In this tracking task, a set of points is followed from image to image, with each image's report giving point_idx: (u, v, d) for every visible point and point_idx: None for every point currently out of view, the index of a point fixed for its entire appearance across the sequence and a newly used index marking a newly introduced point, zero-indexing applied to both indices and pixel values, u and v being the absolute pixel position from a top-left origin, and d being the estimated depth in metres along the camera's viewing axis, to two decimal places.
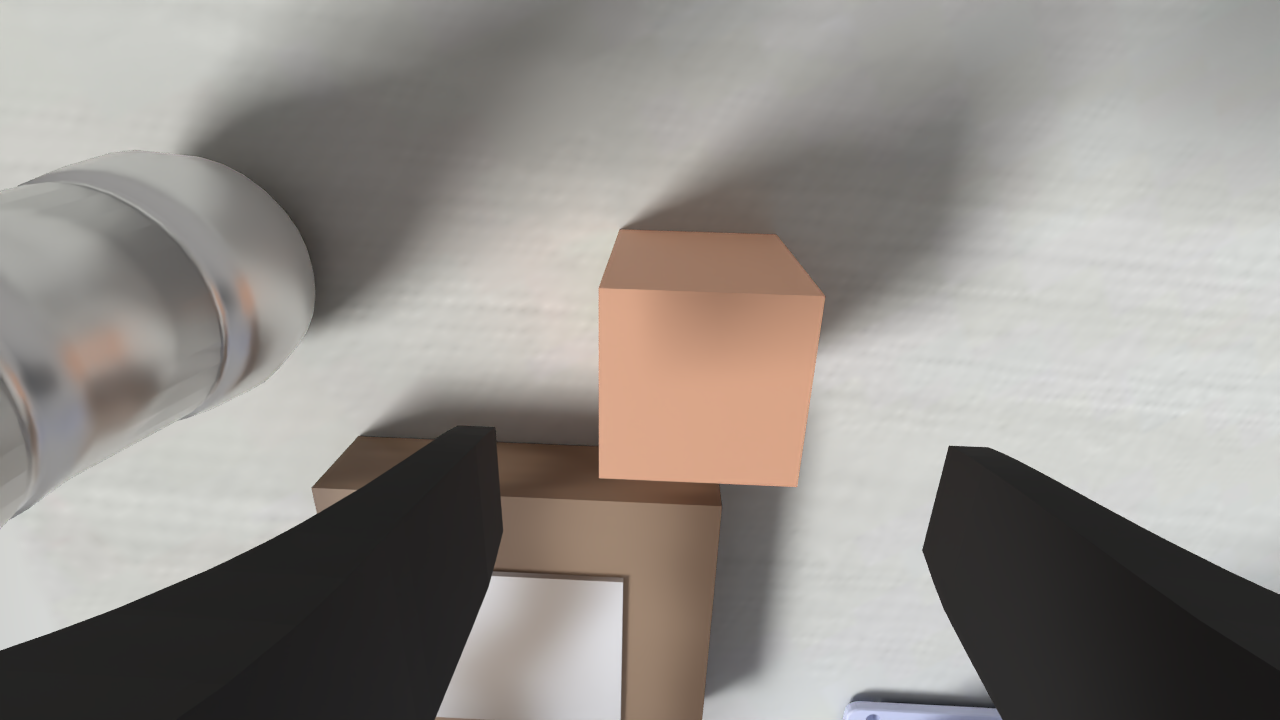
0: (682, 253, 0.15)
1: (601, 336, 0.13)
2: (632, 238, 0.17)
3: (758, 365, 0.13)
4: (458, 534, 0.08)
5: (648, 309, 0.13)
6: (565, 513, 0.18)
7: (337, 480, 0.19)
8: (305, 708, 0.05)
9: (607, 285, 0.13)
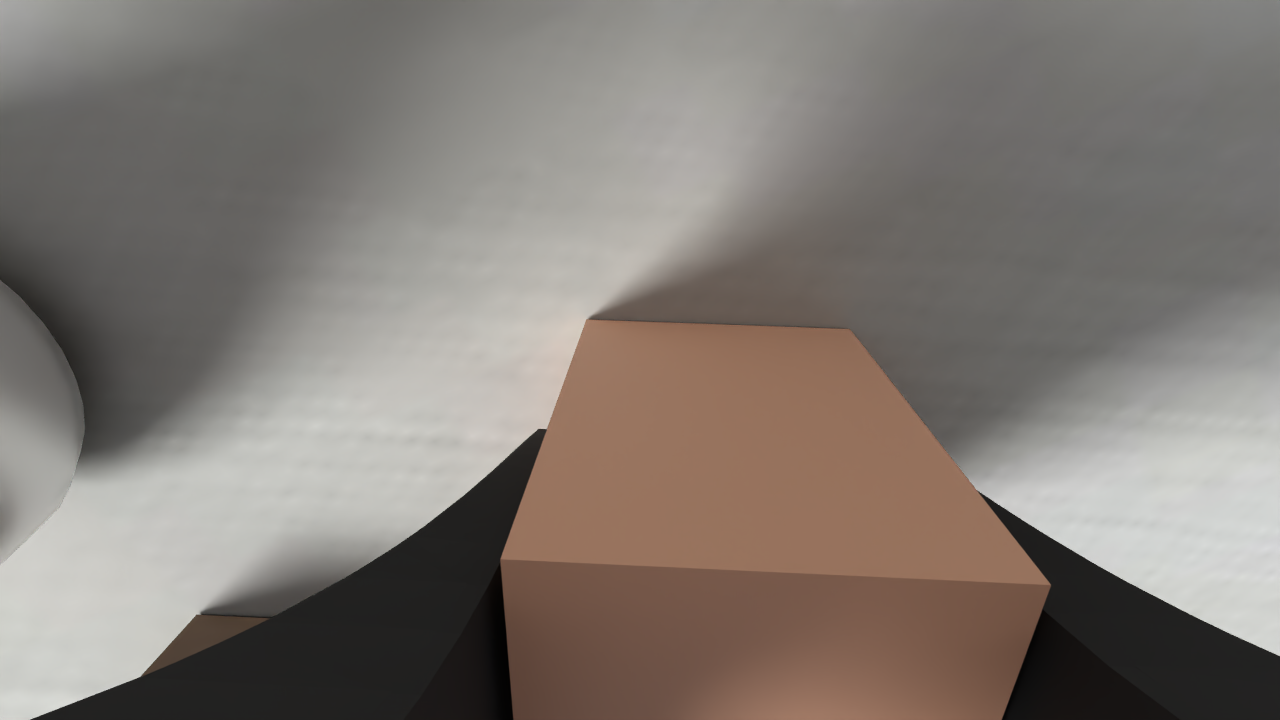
0: (694, 394, 0.08)
1: (514, 649, 0.06)
2: (604, 347, 0.09)
3: (872, 710, 0.06)
4: None
5: (621, 603, 0.05)
6: None
7: None
8: (463, 716, 0.05)
9: (524, 542, 0.05)
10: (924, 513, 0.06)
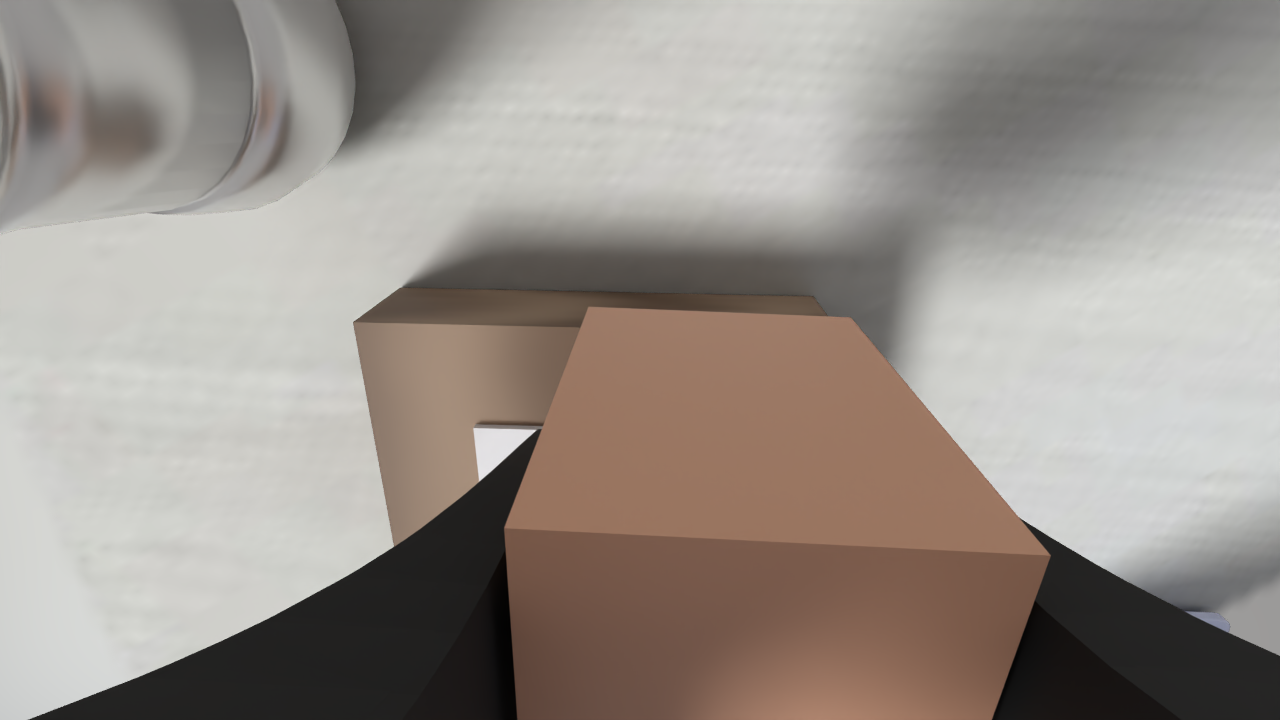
0: (696, 377, 0.08)
1: (517, 620, 0.06)
2: (606, 332, 0.10)
3: (873, 684, 0.06)
4: None
5: (623, 573, 0.05)
6: None
7: (382, 317, 0.16)
8: (464, 716, 0.05)
9: (528, 513, 0.05)
10: (925, 488, 0.06)
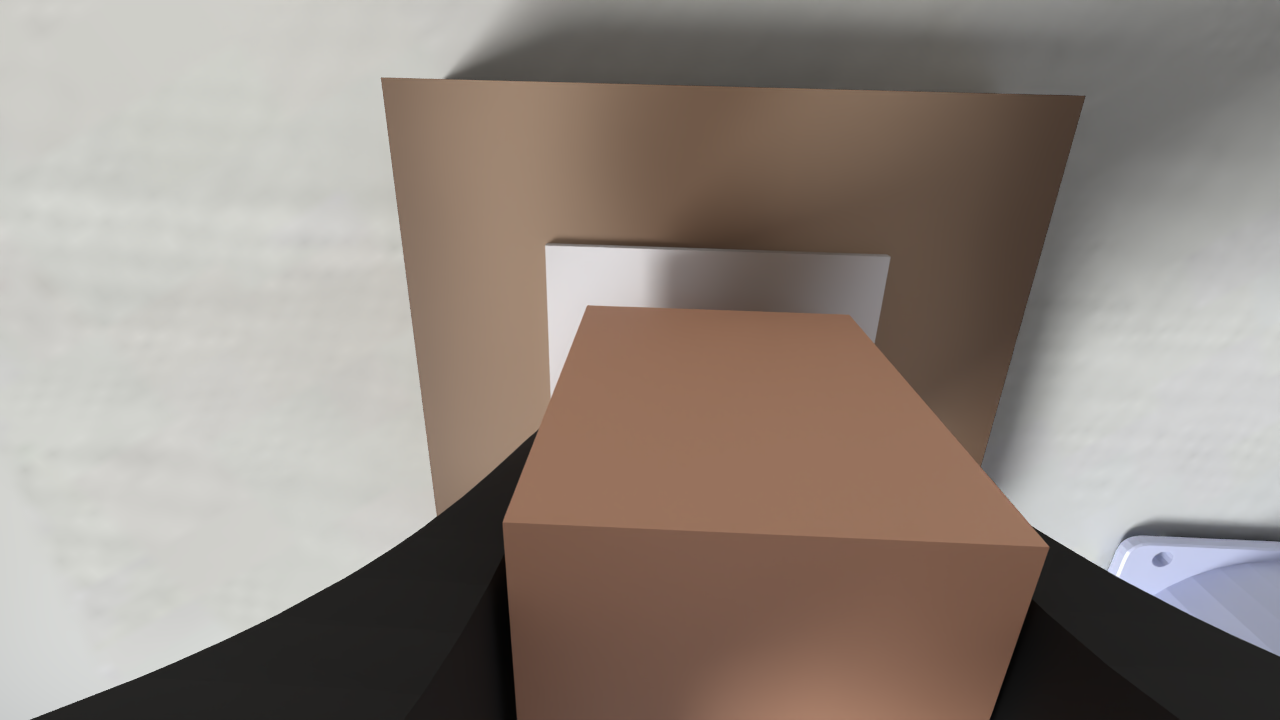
0: (695, 373, 0.08)
1: (516, 615, 0.06)
2: (605, 330, 0.10)
3: (873, 678, 0.06)
4: None
5: (622, 567, 0.05)
6: (809, 120, 0.11)
7: None
8: (465, 717, 0.05)
9: (526, 507, 0.05)
10: (923, 482, 0.06)
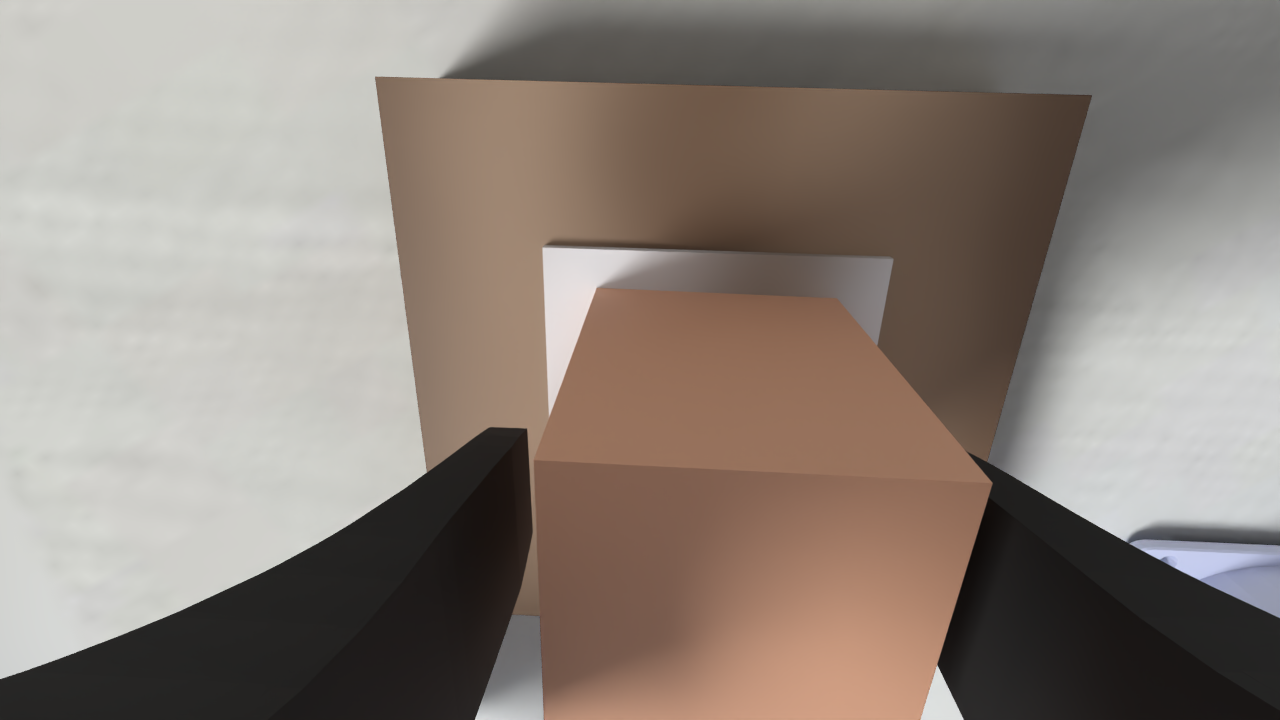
0: (695, 346, 0.09)
1: (542, 543, 0.07)
2: (614, 309, 0.10)
3: (845, 599, 0.07)
4: (496, 536, 0.08)
5: (634, 499, 0.06)
6: (811, 120, 0.11)
7: None
8: (369, 710, 0.05)
9: (553, 449, 0.06)
10: (891, 434, 0.07)
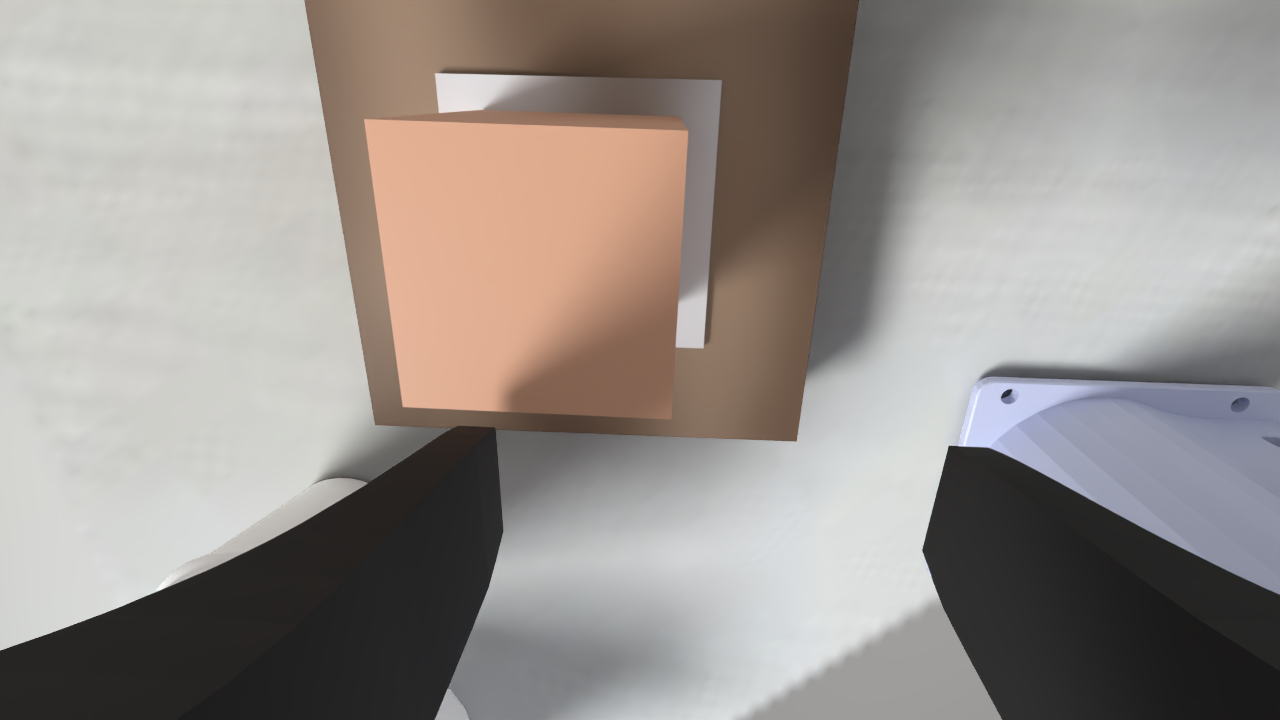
0: (534, 116, 0.12)
1: (378, 195, 0.09)
2: (485, 111, 0.13)
3: (602, 240, 0.09)
4: (458, 534, 0.08)
5: (438, 153, 0.09)
6: None
7: None
8: (305, 708, 0.05)
9: (381, 119, 0.09)
10: (640, 125, 0.09)
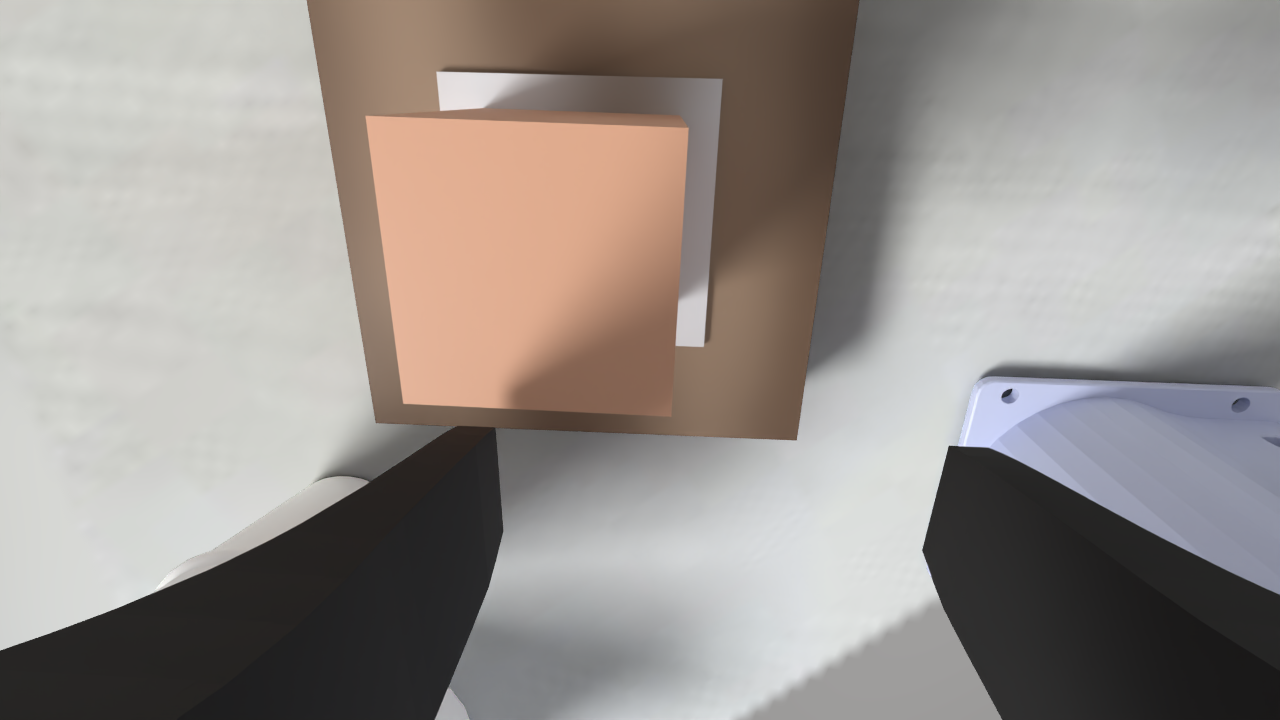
0: (535, 114, 0.12)
1: (379, 192, 0.09)
2: (486, 109, 0.13)
3: (603, 237, 0.09)
4: (458, 534, 0.08)
5: (439, 149, 0.09)
6: None
7: None
8: (307, 707, 0.05)
9: (383, 116, 0.09)
10: (641, 123, 0.09)
